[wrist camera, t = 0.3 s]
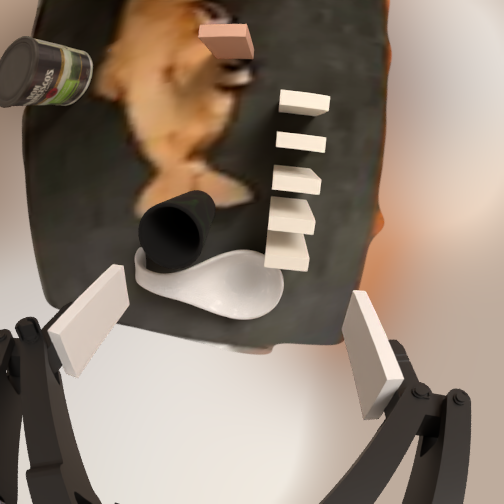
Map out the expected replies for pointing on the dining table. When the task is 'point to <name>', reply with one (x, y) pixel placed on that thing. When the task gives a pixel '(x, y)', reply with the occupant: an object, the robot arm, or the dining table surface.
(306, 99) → the tile
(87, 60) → the coffee can
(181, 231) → the cup
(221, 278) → the spoon rest
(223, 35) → the tile
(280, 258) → the cream flat rectangular block
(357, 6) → the dining table surface
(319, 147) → the tile
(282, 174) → the tile
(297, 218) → the tile
